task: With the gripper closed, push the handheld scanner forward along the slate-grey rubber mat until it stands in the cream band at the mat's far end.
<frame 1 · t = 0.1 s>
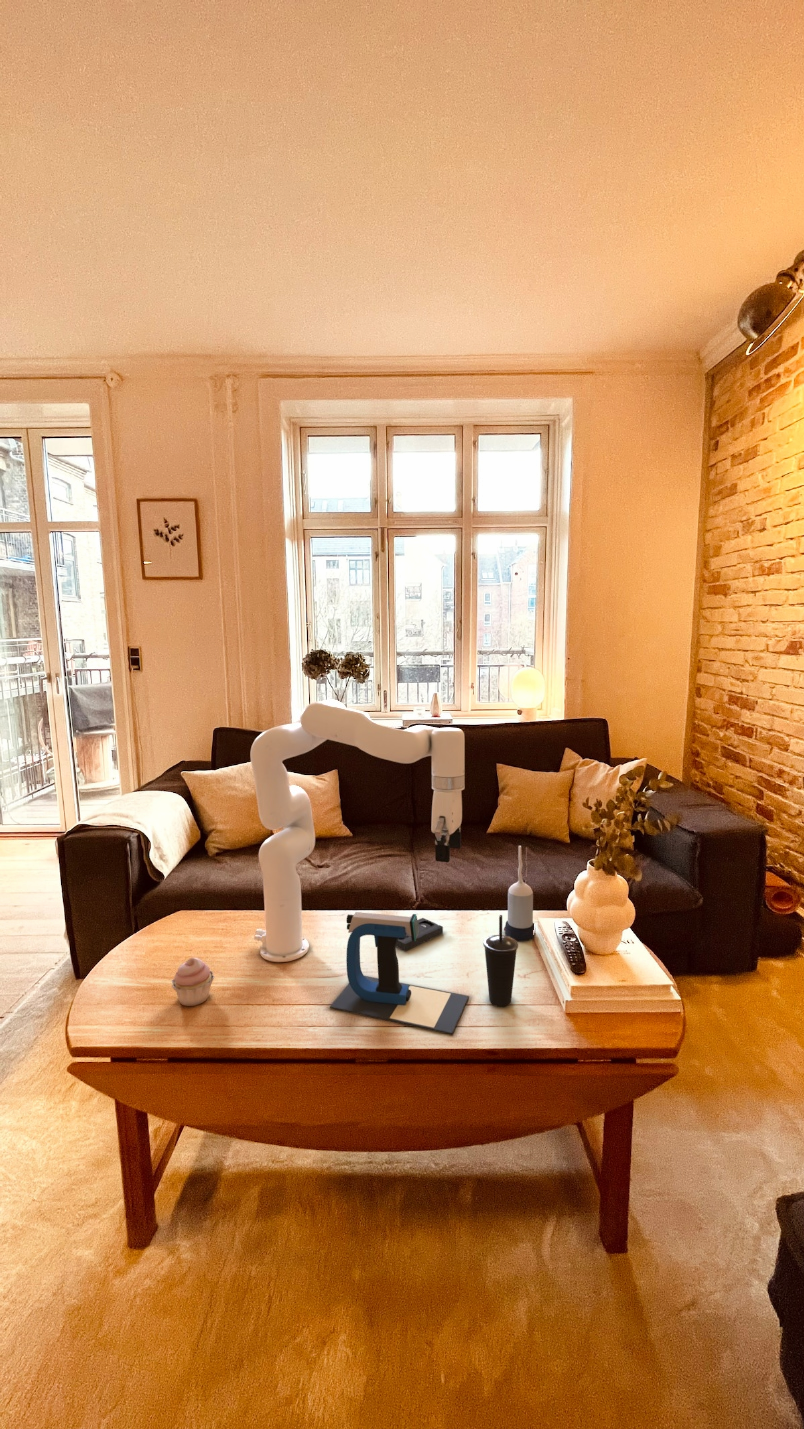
hand: (448, 854, 140), 31 cm above the table, tool pointing down, fingers open, 9 cm apart
drinking cup: (500, 1001, 135), on the table
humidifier: (519, 934, 166), on the table
vhs tape: (414, 937, 165), on the table
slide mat: (400, 1002, 135), on the table
cupcake: (194, 999, 137), on the table
handheld scanner: (383, 998, 136), resting on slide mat
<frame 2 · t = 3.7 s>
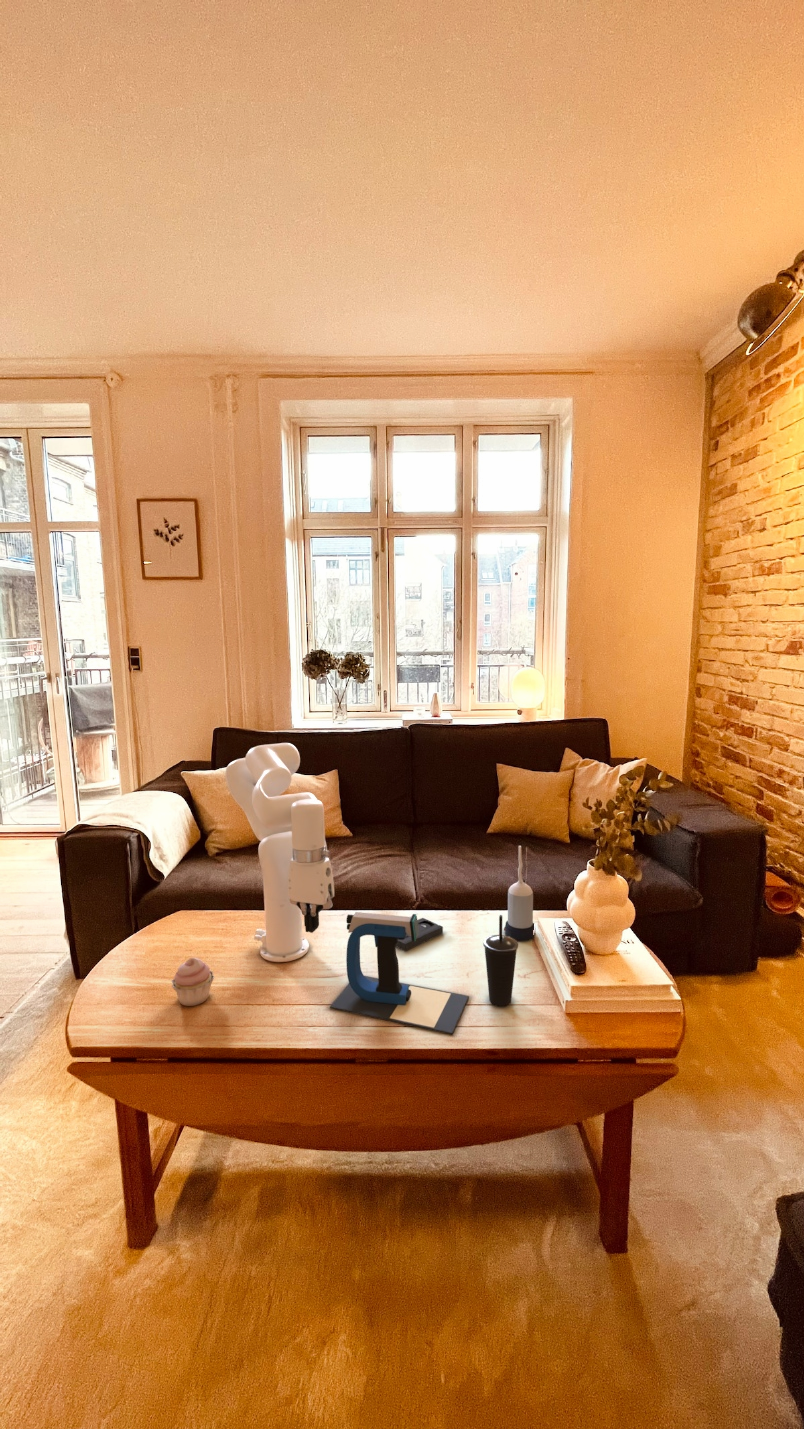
hand: (311, 929, 140), 14 cm above the table, tool pointing down, fingers closed
nothing on the table moved.
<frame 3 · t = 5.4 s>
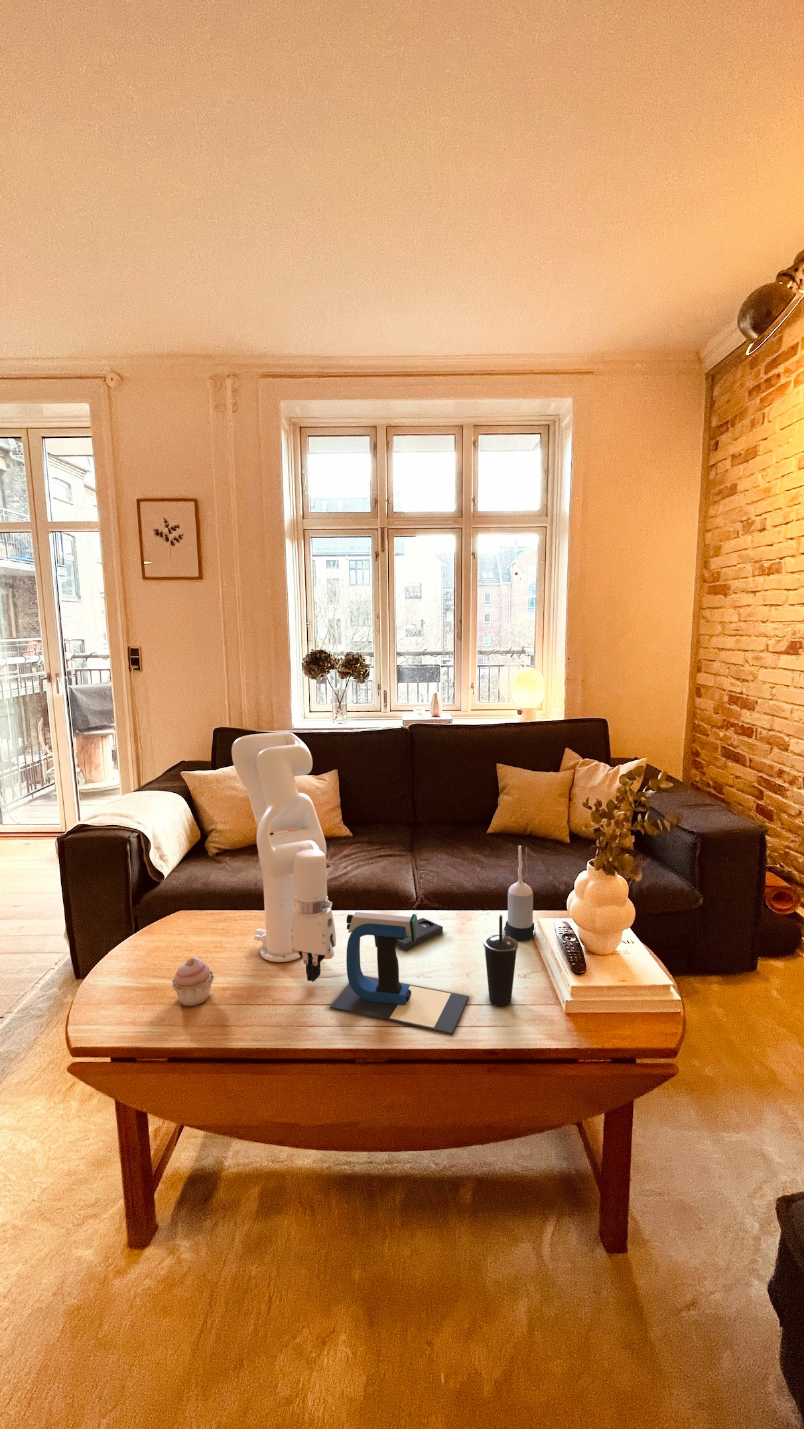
hand: (313, 978, 142), 2 cm above the table, tool pointing down, fingers closed
nothing on the table moved.
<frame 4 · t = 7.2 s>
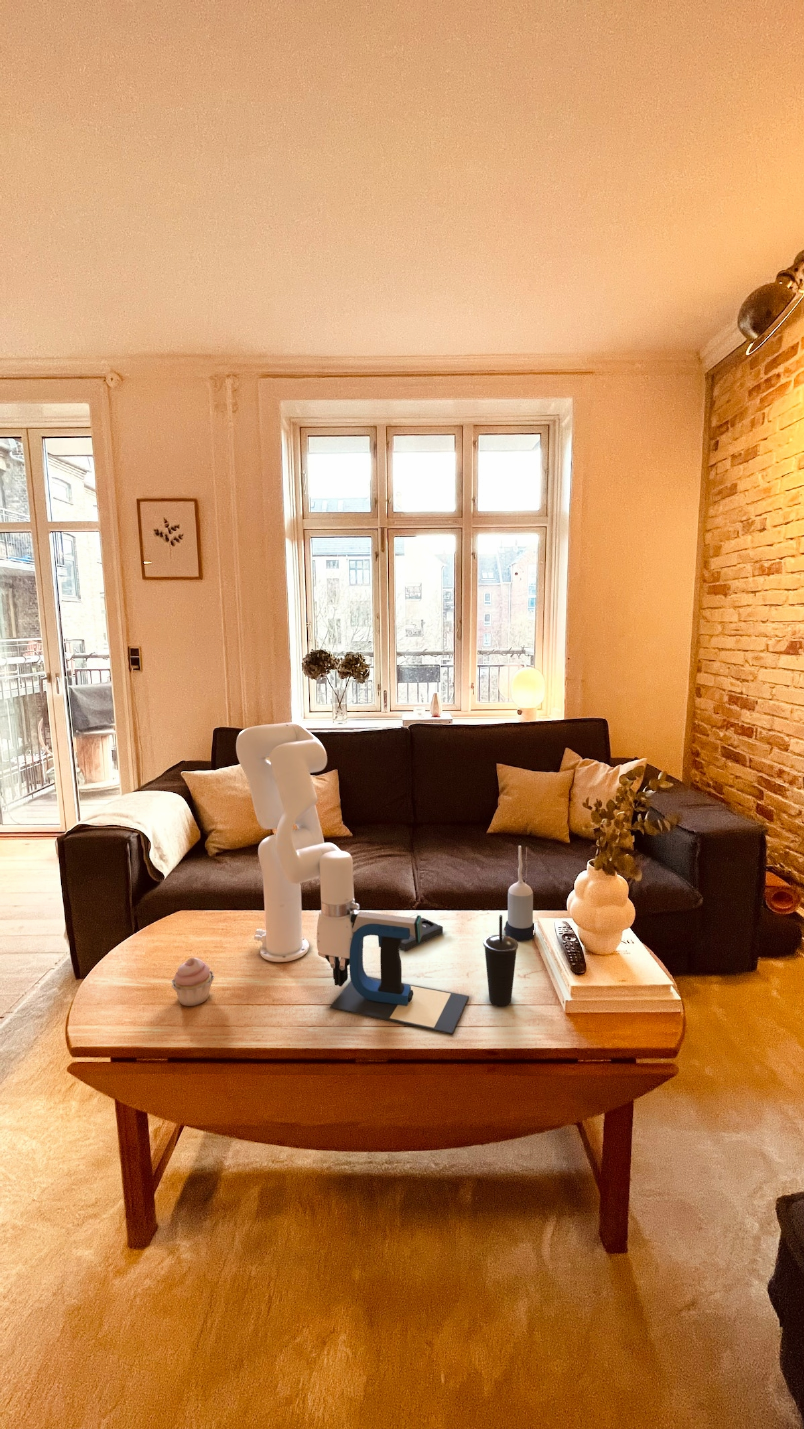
hand: (340, 982, 139), 2 cm above the table, tool pointing down, fingers closed
handheld scanner: (385, 997, 136), resting on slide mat, touching arm, gripper
everything else where it was.
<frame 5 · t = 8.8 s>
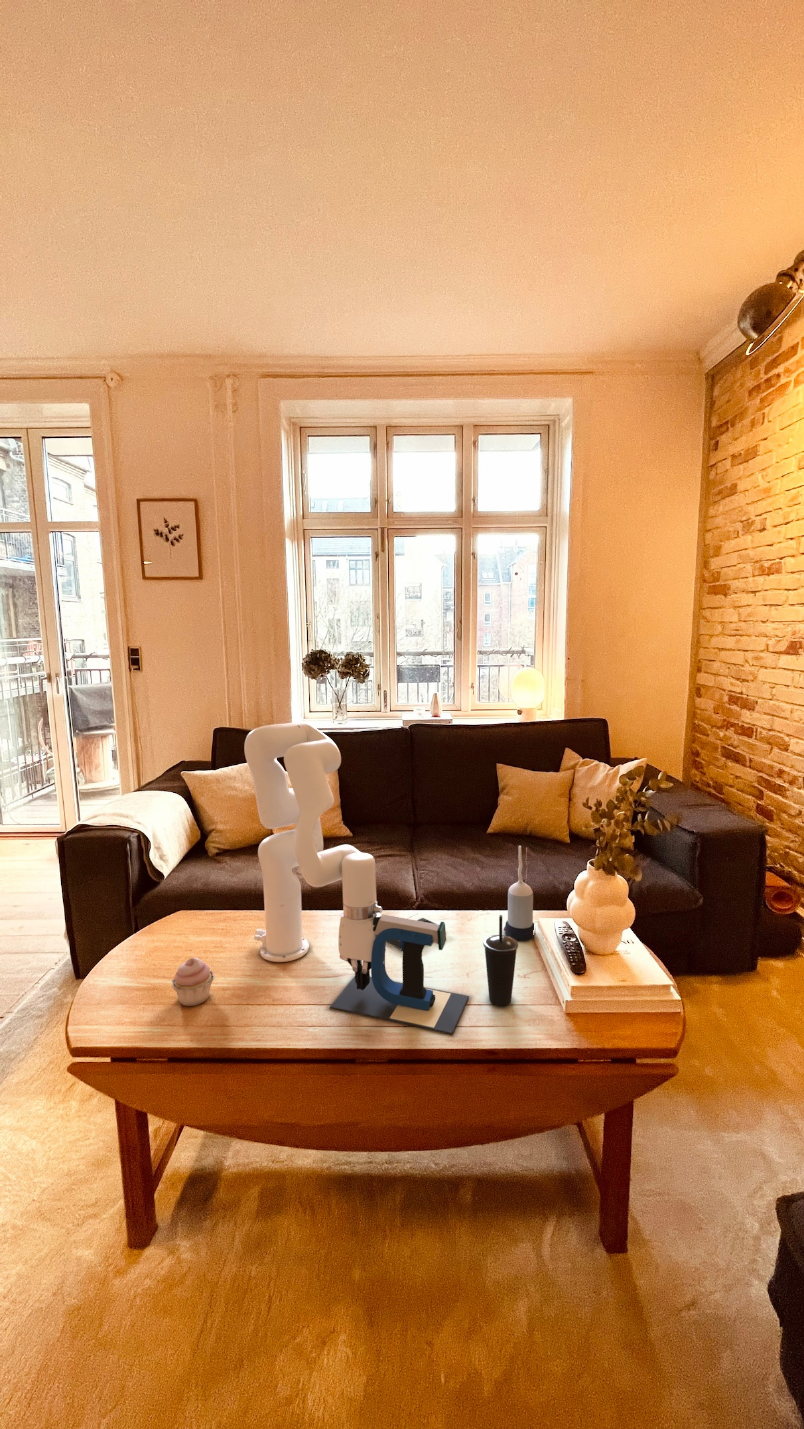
hand: (362, 986, 137), 2 cm above the table, tool pointing down, fingers closed
handheld scanner: (407, 1000, 134), point 1 cm above the table, touching arm, gripper, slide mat
everything else where it was.
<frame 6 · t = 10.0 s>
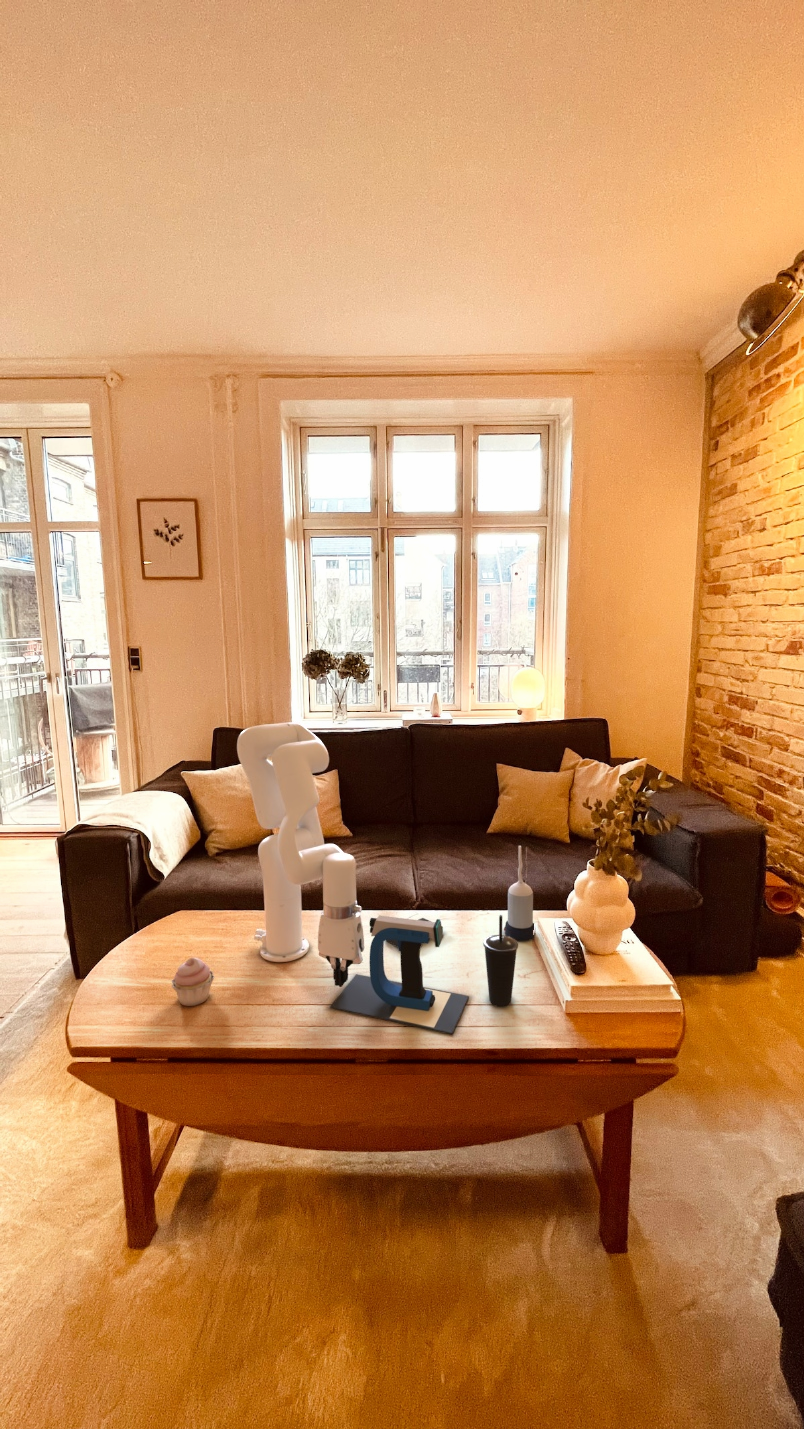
hand: (340, 983, 140), 2 cm above the table, tool pointing down, fingers closed
handheld scanner: (407, 1002, 134), resting on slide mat
everything else where it was.
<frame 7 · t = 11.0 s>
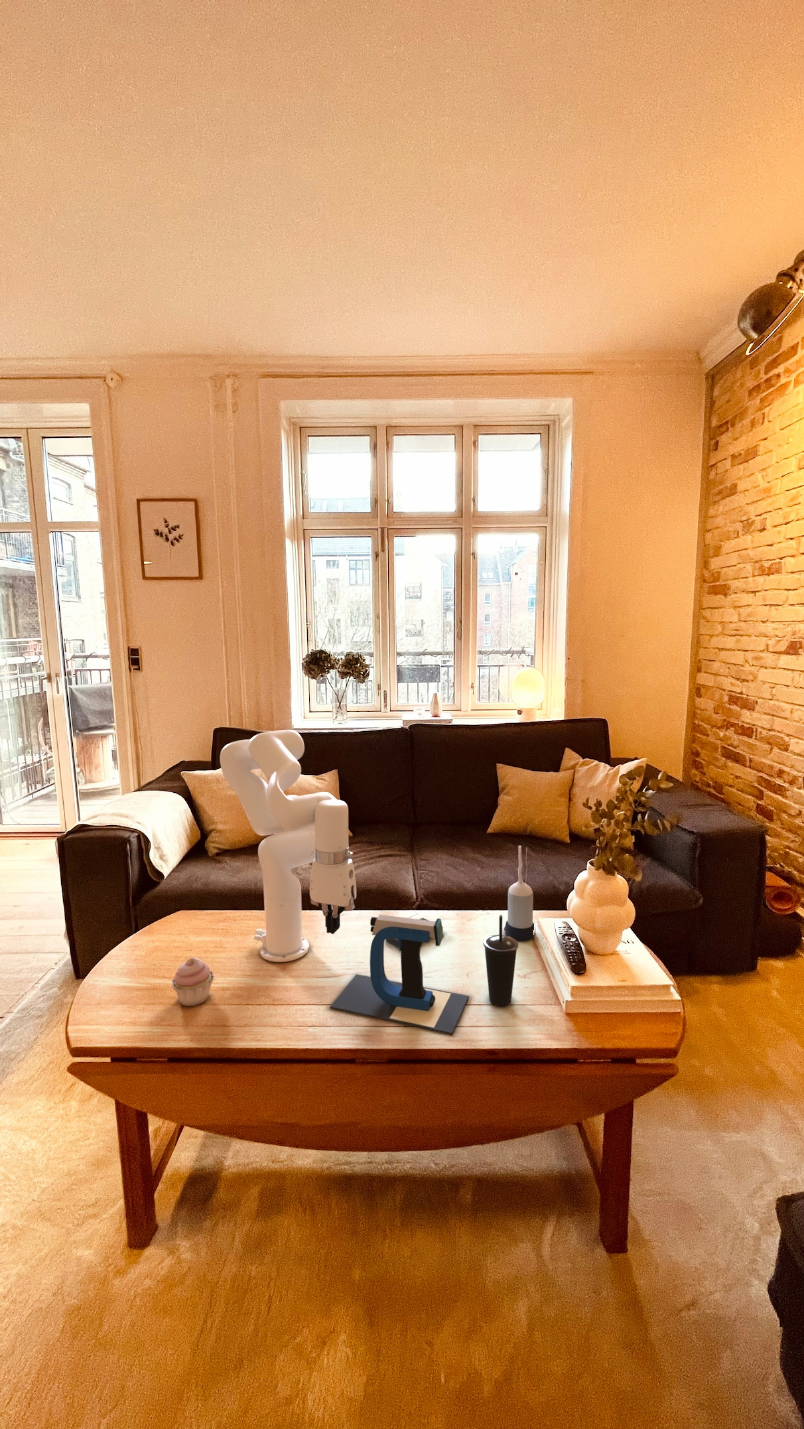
hand: (332, 930, 139), 14 cm above the table, tool pointing down, fingers closed
nothing on the table moved.
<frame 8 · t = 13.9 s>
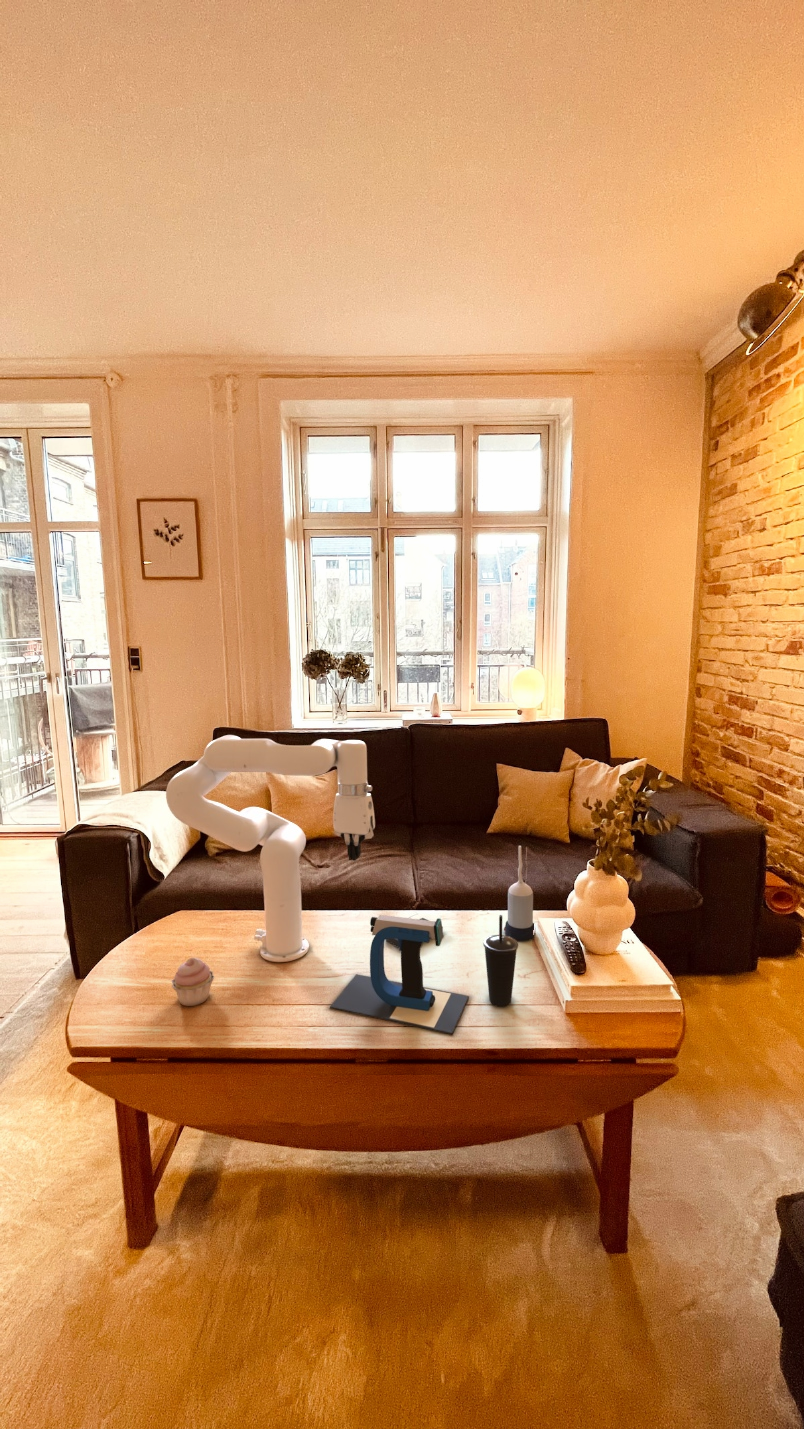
hand: (354, 858, 155), 25 cm above the table, tool pointing down, fingers closed
nothing on the table moved.
at the end: handheld scanner inside the target area (3.3 cm from its centre), resting on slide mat; handheld scanner tilted 1°; handheld scanner moved 5.7 cm from its start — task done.
